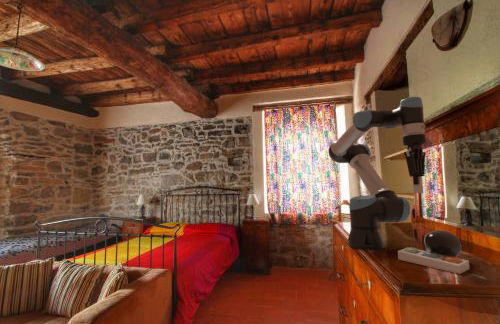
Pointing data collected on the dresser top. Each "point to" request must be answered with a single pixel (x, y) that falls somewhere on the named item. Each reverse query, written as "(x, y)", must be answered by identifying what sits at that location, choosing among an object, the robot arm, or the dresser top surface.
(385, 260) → the dresser top surface
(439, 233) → the dark glossy ovoid
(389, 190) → the robot arm
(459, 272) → the button panel
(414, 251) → the green button
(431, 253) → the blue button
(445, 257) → the orange button
